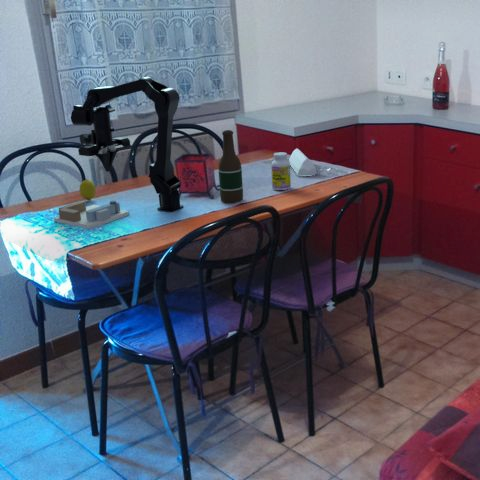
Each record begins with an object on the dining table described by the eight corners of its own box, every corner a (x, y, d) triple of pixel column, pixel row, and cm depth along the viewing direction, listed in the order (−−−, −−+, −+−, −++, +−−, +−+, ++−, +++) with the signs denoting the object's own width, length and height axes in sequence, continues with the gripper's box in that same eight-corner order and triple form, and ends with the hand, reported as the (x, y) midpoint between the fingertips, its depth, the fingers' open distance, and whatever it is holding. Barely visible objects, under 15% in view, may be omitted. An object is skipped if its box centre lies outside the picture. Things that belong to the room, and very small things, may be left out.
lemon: (93, 203, 243) (90, 181, 240) (78, 203, 244) (75, 181, 241) (99, 198, 248) (96, 177, 245) (85, 198, 249) (82, 177, 246)
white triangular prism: (282, 155, 281) (293, 169, 258) (297, 146, 280) (309, 158, 257) (292, 170, 283) (303, 184, 260) (306, 160, 282) (319, 174, 260)
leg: (114, 210, 227) (113, 199, 226) (120, 211, 225) (119, 200, 224) (86, 220, 218) (85, 209, 217) (92, 221, 217) (90, 210, 215)
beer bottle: (216, 201, 235) (210, 131, 227) (231, 196, 241) (227, 128, 233) (232, 205, 230) (227, 133, 222) (248, 199, 235) (244, 129, 228)
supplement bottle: (269, 190, 244) (268, 155, 240) (275, 186, 250) (274, 151, 246) (287, 191, 242) (286, 155, 238) (293, 186, 248) (292, 151, 244)
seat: (129, 214, 226) (128, 202, 225) (90, 229, 214) (88, 216, 212) (93, 207, 236) (92, 196, 235) (54, 221, 224) (52, 209, 222)
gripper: (106, 119, 241) (111, 163, 246) (64, 129, 227) (71, 175, 233) (128, 121, 235) (133, 166, 240) (87, 131, 221) (93, 178, 226)
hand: (107, 171), depth 235 cm, fingers closed
